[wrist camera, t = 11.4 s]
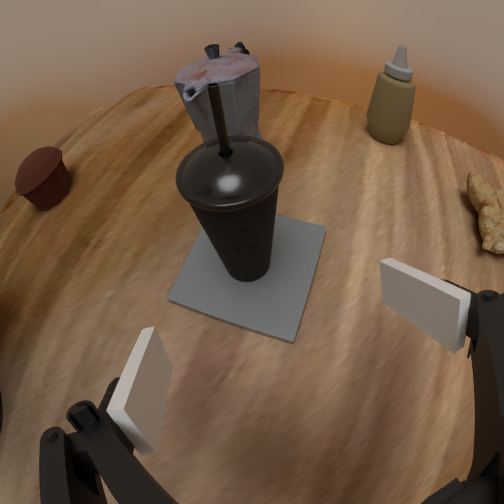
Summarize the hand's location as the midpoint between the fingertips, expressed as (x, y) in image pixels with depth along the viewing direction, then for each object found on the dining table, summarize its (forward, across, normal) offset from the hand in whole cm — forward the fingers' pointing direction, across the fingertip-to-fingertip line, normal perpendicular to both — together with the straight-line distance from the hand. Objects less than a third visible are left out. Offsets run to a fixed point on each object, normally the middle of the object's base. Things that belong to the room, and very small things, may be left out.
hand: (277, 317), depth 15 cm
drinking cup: (+16, 0, -1) cm, 16 cm away
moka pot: (+28, +3, +9) cm, 29 cm away
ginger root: (+13, +38, -6) cm, 41 cm away
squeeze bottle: (+30, +30, +11) cm, 44 cm away
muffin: (+36, -32, +17) cm, 51 cm away
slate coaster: (+17, 0, -2) cm, 17 cm away
